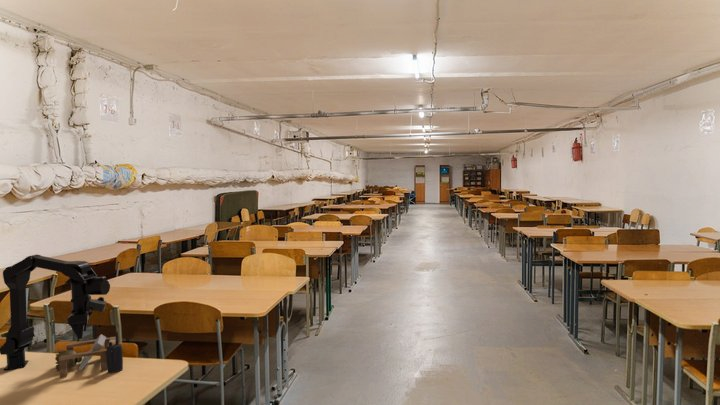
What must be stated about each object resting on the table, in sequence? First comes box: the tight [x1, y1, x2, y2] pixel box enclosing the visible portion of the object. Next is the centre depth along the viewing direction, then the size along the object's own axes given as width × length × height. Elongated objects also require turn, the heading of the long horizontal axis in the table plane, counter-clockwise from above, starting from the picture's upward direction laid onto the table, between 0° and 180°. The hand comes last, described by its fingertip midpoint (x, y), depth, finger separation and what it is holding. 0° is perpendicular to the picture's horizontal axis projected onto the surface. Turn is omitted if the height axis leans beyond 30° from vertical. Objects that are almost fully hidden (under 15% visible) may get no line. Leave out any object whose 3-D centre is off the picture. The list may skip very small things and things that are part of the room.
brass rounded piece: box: [54, 349, 83, 372], centre depth 170 cm, size 8×7×8 cm
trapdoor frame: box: [59, 336, 116, 379], centre depth 172 cm, size 16×17×8 cm
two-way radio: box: [106, 330, 124, 374], centre depth 166 cm, size 6×4×15 cm
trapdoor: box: [78, 333, 107, 371], centre depth 173 cm, size 11×11×2 cm
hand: (82, 334), depth 171 cm, fingers open, 9 cm apart
